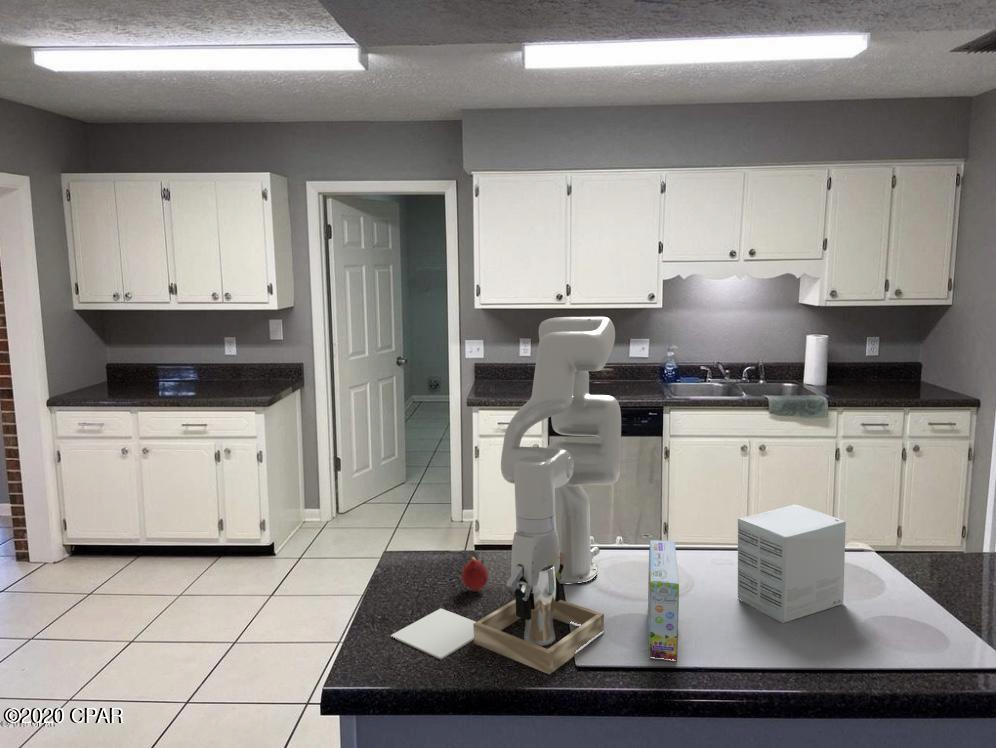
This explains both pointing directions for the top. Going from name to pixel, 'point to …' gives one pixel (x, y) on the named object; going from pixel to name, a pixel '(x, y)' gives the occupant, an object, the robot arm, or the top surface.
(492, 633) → the wooden frame
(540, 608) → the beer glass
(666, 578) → the snack box
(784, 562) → the supplement box
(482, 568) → the onion
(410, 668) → the top surface
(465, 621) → the mat
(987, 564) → the top surface
